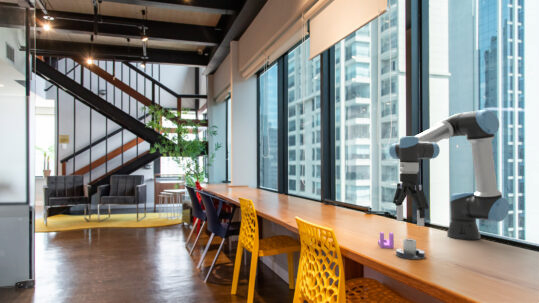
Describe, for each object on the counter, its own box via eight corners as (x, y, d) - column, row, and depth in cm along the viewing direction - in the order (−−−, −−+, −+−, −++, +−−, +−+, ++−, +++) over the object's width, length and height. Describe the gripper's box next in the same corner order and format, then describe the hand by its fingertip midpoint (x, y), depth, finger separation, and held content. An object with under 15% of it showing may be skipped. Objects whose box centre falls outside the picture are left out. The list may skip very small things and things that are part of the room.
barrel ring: (413, 251, 155) (413, 247, 155) (430, 258, 144) (430, 253, 144) (390, 253, 152) (390, 248, 152) (406, 260, 141) (406, 255, 141)
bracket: (393, 248, 161) (393, 233, 161) (381, 248, 162) (380, 233, 162) (389, 242, 173) (389, 228, 174) (377, 241, 174) (377, 227, 175)
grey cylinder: (411, 252, 151) (410, 238, 151) (418, 255, 146) (418, 240, 146) (401, 253, 150) (400, 238, 150) (408, 256, 145) (408, 241, 145)
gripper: (384, 171, 160) (385, 218, 159) (421, 174, 136) (422, 229, 135) (398, 171, 162) (399, 218, 161) (437, 173, 138) (438, 228, 137)
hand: (409, 223), depth 148 cm, fingers open, 13 cm apart
